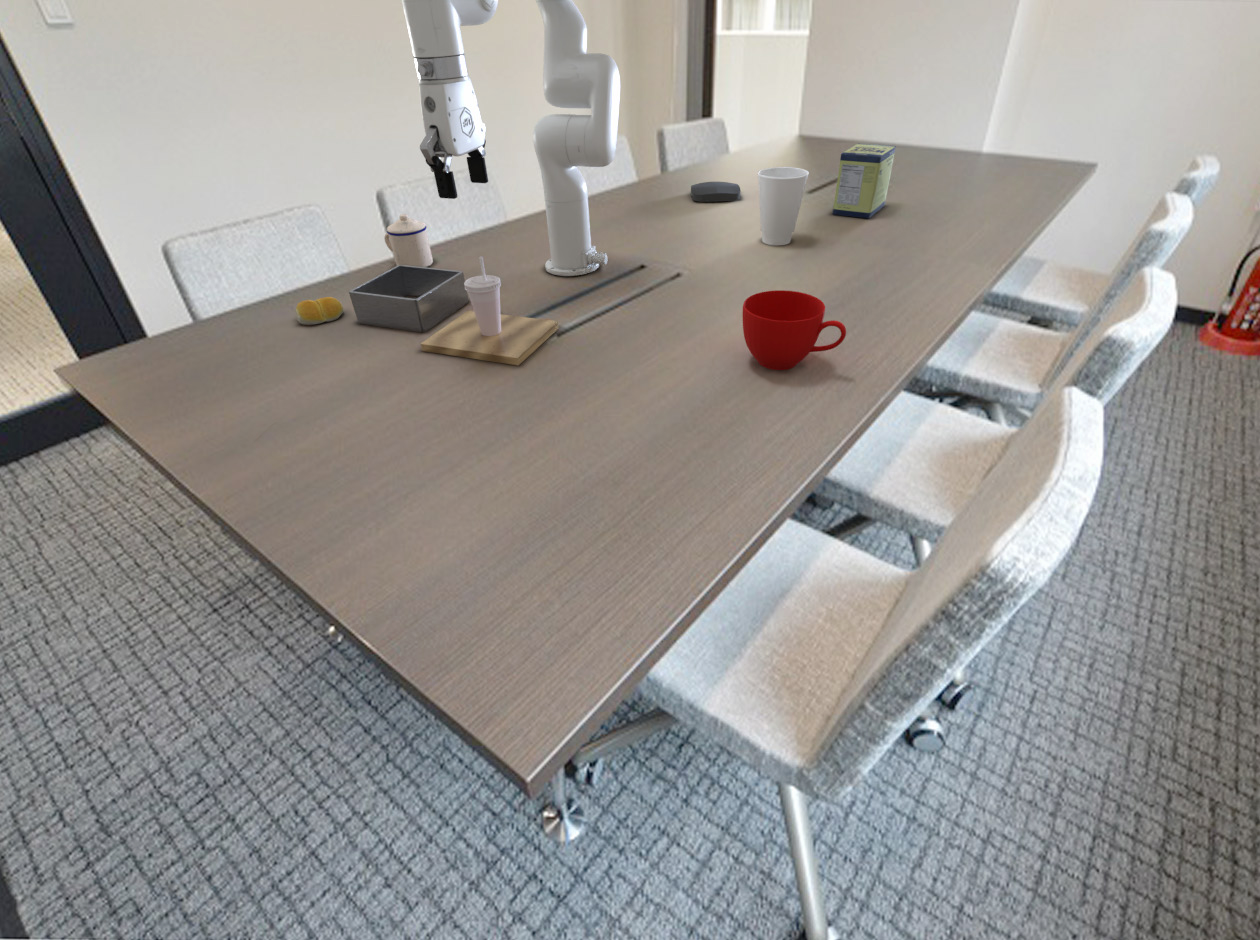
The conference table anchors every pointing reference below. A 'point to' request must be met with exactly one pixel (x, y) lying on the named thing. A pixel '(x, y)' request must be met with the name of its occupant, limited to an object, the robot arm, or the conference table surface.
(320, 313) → the bread roll
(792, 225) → the cup
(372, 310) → the box
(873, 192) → the protein box
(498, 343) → the maple board
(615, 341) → the conference table surface
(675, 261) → the conference table surface
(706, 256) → the conference table surface
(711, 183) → the media streaming box
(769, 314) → the ceramic cup
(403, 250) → the teacup with lid
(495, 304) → the smoothie
